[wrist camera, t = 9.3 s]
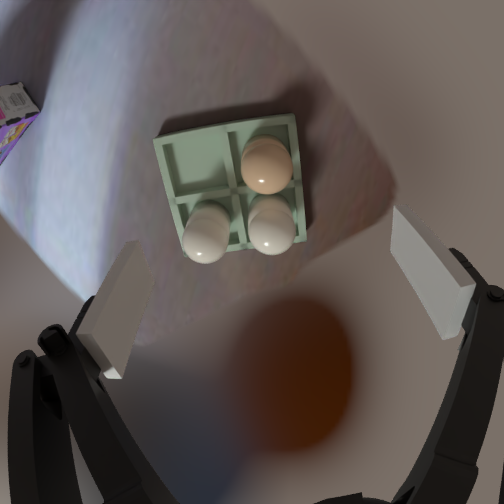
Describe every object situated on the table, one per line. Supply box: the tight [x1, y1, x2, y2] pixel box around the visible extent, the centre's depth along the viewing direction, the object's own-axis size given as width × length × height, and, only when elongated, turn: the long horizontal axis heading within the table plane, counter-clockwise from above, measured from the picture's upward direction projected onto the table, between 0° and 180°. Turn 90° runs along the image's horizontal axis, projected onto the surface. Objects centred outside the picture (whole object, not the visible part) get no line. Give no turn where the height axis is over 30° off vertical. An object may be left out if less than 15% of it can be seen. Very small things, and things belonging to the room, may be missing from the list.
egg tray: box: [153, 113, 307, 257], centre depth 33 cm, size 14×14×2 cm
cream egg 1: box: [182, 200, 231, 264], centre depth 32 cm, size 5×5×7 cm
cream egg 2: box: [248, 193, 296, 255], centre depth 31 cm, size 5×5×7 cm
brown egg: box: [241, 134, 293, 194], centre depth 28 cm, size 5×5×7 cm
